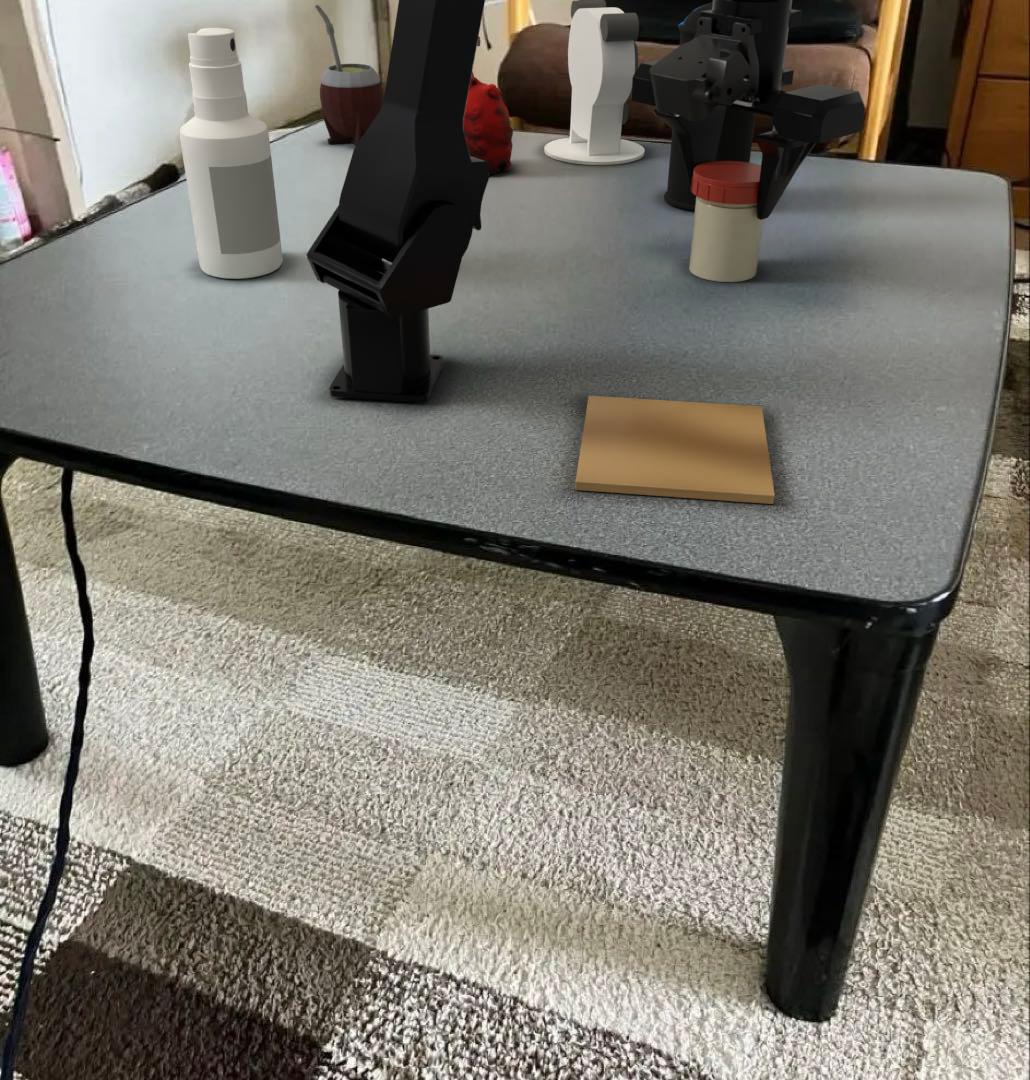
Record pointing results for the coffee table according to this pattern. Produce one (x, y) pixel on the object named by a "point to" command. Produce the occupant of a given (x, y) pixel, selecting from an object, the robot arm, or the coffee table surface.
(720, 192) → the jar lid
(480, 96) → the red clay folk toy
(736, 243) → the jar
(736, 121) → the aerosol can
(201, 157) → the spray bottle
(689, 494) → the coaster
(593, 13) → the white stand
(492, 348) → the coffee table surface
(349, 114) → the mate gourd
